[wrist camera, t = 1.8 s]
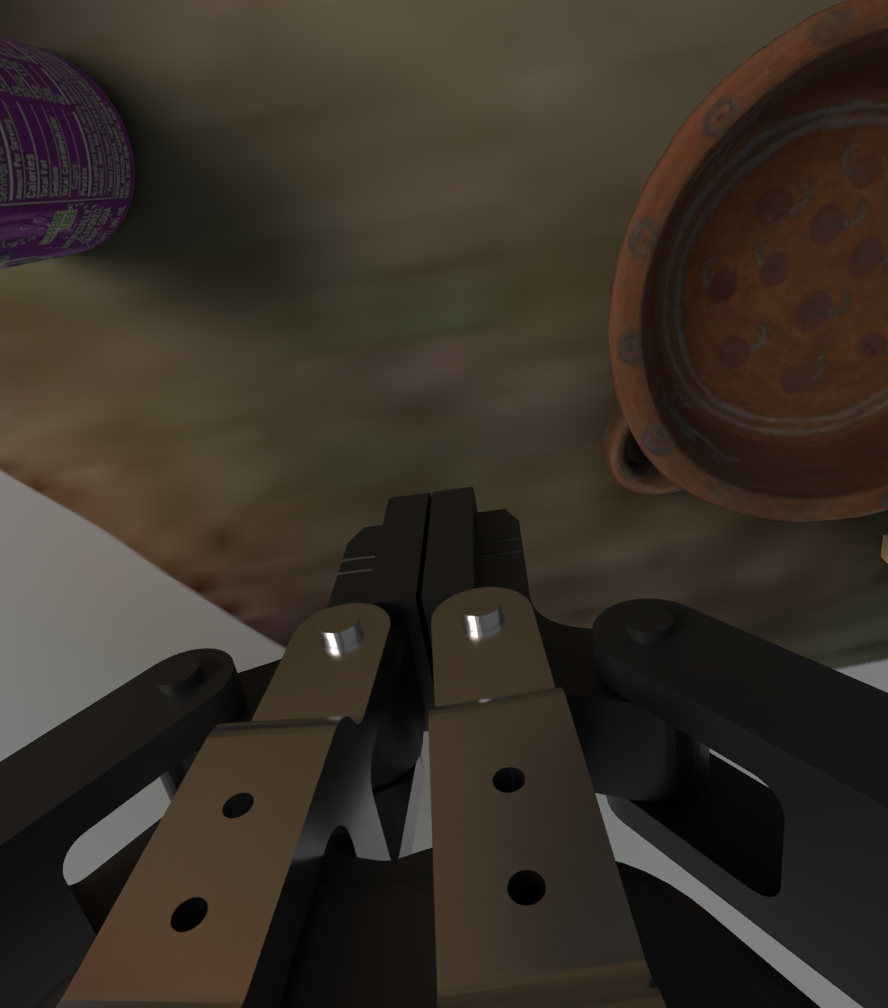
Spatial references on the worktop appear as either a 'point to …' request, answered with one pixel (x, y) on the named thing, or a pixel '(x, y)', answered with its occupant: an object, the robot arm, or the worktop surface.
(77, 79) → the beverage can
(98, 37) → the worktop surface
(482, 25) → the worktop surface
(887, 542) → the rack
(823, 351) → the dish
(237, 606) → the worktop surface
